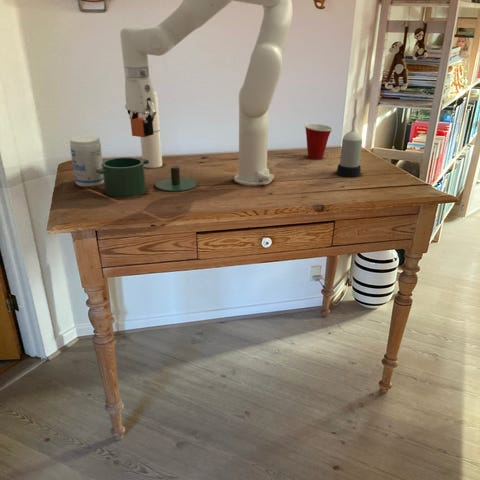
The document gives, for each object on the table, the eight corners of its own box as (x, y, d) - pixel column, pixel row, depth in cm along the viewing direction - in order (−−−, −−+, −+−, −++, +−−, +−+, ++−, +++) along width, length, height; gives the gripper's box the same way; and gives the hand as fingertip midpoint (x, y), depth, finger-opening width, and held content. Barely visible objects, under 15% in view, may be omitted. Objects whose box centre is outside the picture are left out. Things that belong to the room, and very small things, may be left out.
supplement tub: (69, 185, 173) (62, 140, 165) (87, 178, 180) (80, 134, 173) (94, 189, 170) (88, 142, 162) (111, 181, 177) (105, 136, 170)
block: (153, 134, 172) (152, 118, 169) (144, 137, 168) (142, 121, 166) (141, 132, 174) (140, 117, 172) (132, 135, 170) (130, 119, 168)
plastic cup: (331, 161, 202) (334, 128, 195) (303, 161, 202) (306, 128, 195) (328, 154, 211) (331, 123, 205) (301, 154, 211) (303, 122, 205)
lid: (205, 187, 173) (204, 167, 169) (173, 196, 164) (172, 175, 161) (178, 178, 181) (177, 159, 177) (147, 187, 172) (145, 167, 169)
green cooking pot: (160, 190, 169) (158, 161, 164) (113, 203, 158) (109, 172, 153) (137, 182, 177) (134, 153, 172) (90, 194, 166) (86, 164, 161)
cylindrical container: (158, 168, 192) (153, 95, 179) (140, 167, 193) (133, 94, 180) (164, 163, 198) (160, 91, 185) (146, 162, 199) (141, 91, 186)
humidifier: (337, 170, 191) (344, 96, 178) (360, 171, 190) (369, 97, 177) (336, 176, 184) (344, 100, 171) (359, 177, 183) (369, 101, 170)
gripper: (163, 74, 159) (168, 135, 168) (130, 70, 169) (136, 128, 179) (143, 76, 154) (149, 139, 164) (110, 72, 165) (118, 131, 174)
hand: (142, 133), depth 171 cm, fingers closed on block, 6 cm apart
